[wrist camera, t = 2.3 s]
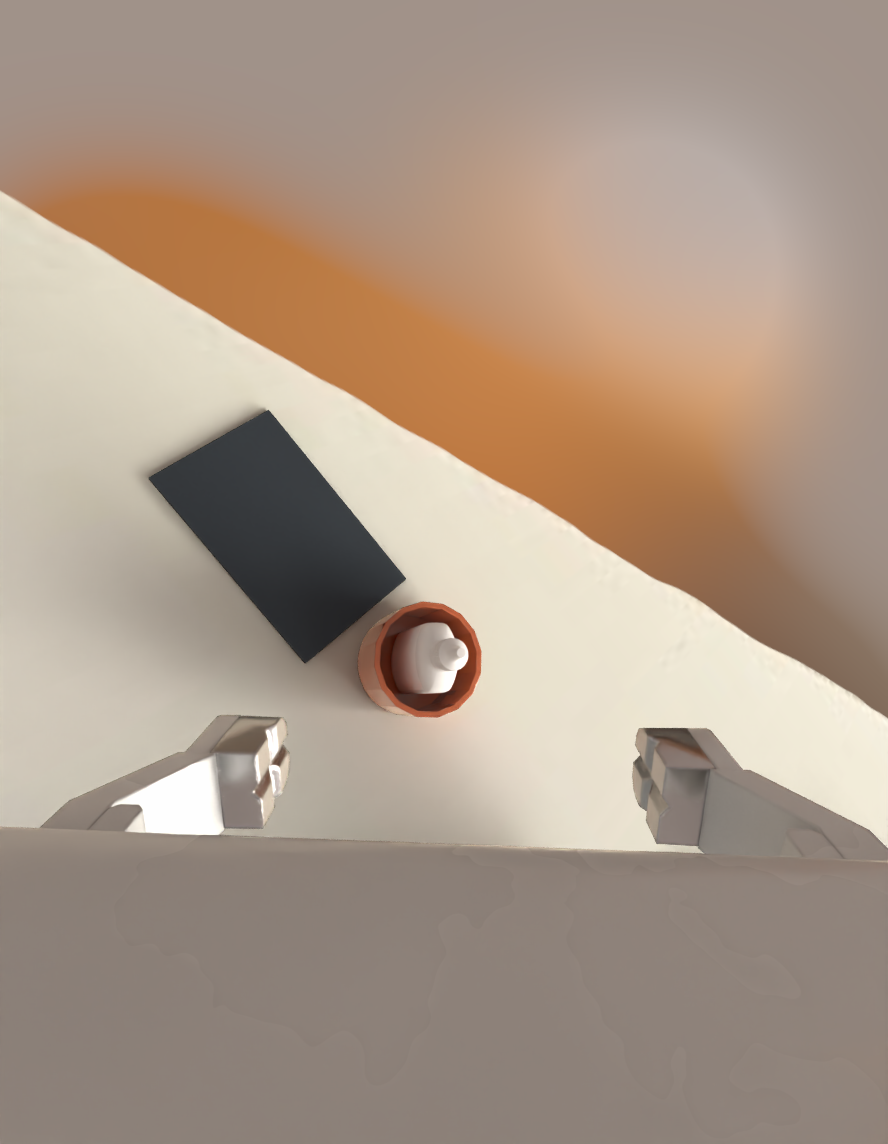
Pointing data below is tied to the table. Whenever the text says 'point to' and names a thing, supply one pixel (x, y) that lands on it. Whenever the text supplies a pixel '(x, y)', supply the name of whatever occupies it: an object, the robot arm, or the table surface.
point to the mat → (280, 532)
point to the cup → (379, 671)
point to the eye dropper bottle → (427, 659)
